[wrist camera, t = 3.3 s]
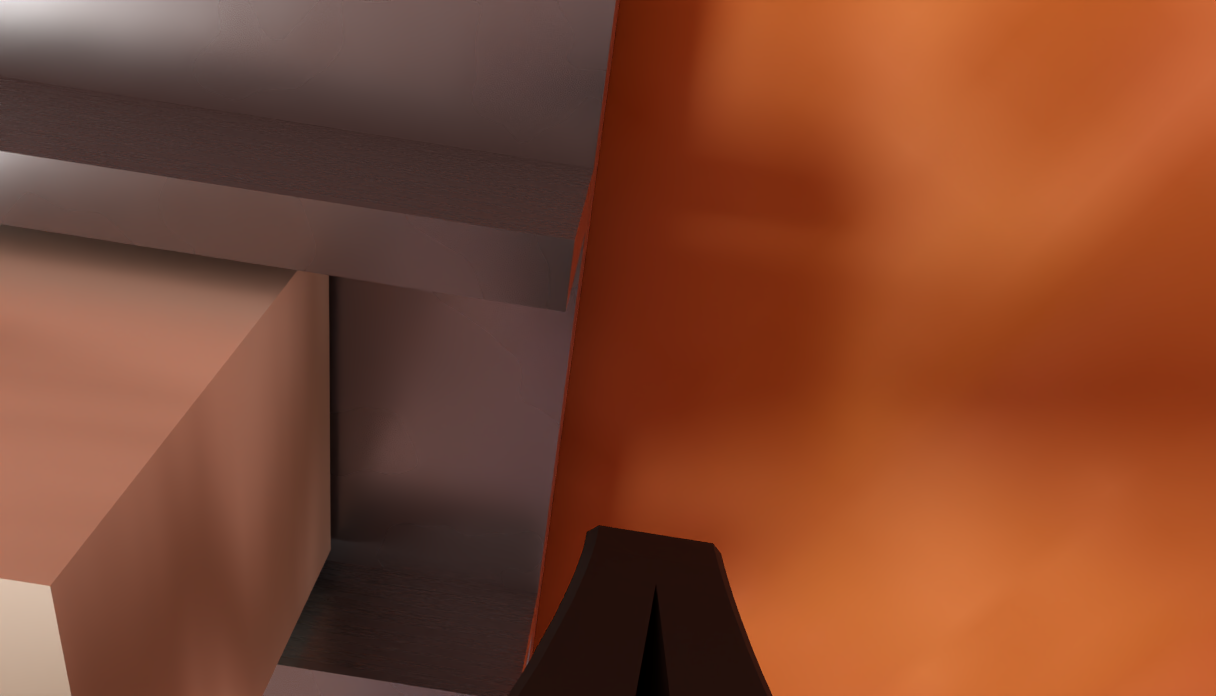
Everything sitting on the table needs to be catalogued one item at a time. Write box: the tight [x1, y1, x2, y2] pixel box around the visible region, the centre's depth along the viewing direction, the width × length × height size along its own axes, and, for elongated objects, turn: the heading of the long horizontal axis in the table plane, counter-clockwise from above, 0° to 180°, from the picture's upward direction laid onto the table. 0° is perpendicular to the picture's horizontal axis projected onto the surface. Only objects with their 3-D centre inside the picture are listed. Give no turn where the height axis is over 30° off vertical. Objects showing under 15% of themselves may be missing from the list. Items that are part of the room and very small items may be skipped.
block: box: [0, 224, 331, 696], centre depth 11 cm, size 5×5×6 cm
